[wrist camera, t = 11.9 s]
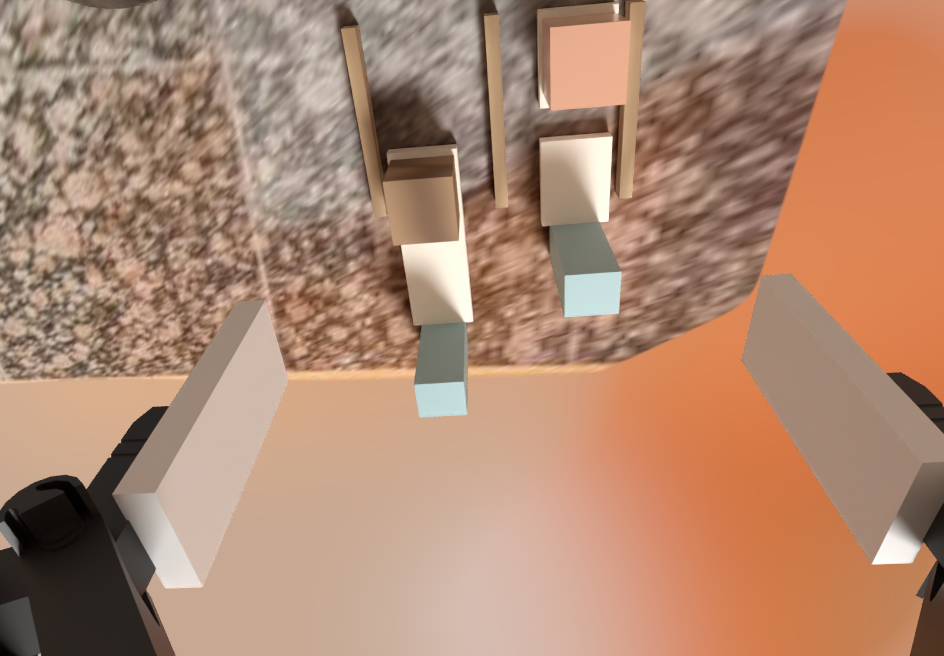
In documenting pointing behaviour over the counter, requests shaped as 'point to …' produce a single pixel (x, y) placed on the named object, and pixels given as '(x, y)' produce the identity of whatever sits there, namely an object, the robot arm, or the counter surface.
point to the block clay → (585, 60)
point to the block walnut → (422, 200)
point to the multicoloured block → (439, 307)
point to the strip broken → (578, 202)
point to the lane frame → (495, 108)
